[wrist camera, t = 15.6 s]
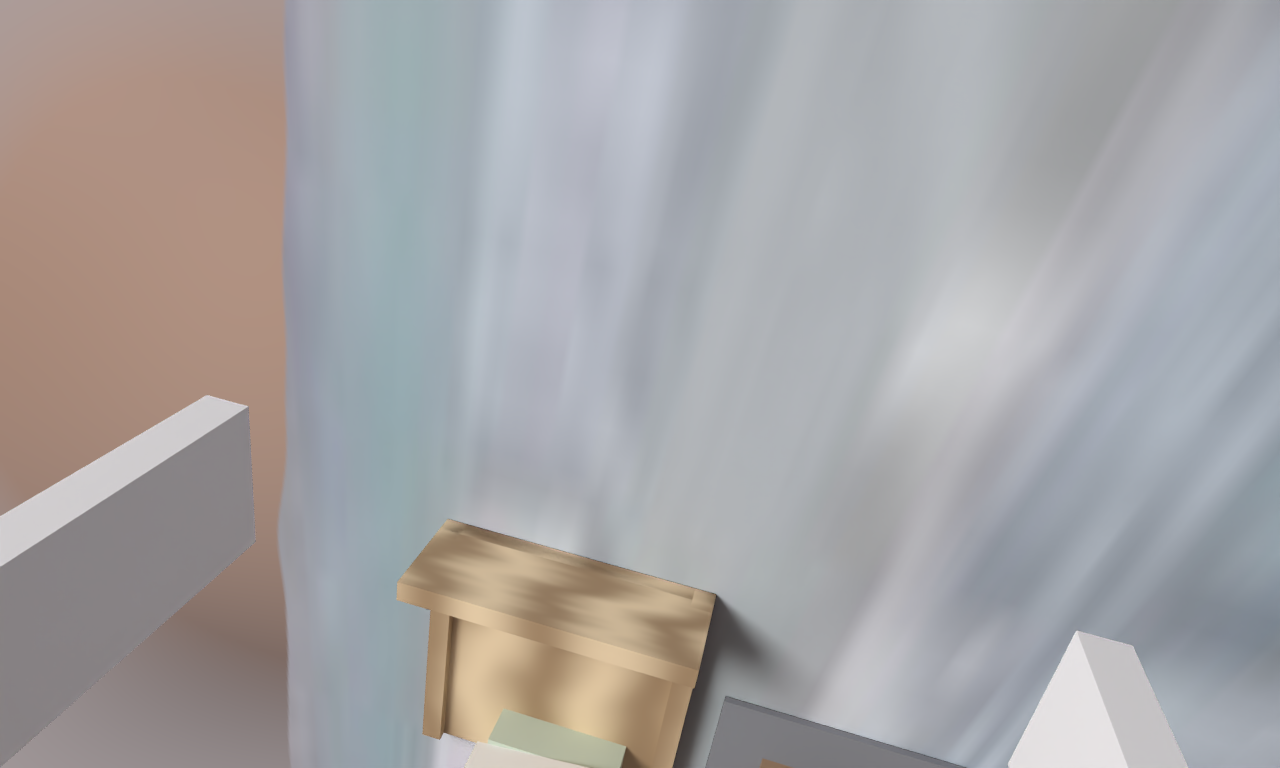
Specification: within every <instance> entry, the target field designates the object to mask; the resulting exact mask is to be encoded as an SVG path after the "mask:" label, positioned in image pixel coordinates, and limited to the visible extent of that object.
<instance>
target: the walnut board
mask: <svg viewBox="0 0 1280 768" xmlns="http://www.w3.org/2000/svg"><path fill="white" fill-rule="evenodd" d="M759 768H793V767H789V766H786V765H783V764H779V763H776V762H773V761H770V760H766V759H763V758H762V761H761V764H760V767H759Z"/></svg>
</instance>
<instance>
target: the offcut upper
mask: <svg viewBox="0 0 1280 768" xmlns="http://www.w3.org/2000/svg"><path fill="white" fill-rule="evenodd" d="M464 768H588V767H584V766H580V765H575V764H571V763H567V762H563V761H559V760H554V759H550V758H546V757H542V756H538V755H533V754H529V753H525V752H521V751H517V750H512V749H508V748H504V747H500V746H495V745H491V744H487V743H483V742H479V741H477V743H476V745H475V747H474V749H473V751H472V753H471V754H470V756H469V758H468V760H467V762H466V764H465V766H464Z"/></svg>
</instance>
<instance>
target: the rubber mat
mask: <svg viewBox="0 0 1280 768" xmlns="http://www.w3.org/2000/svg"><path fill="white" fill-rule="evenodd" d="M762 758H763V759H766V760H770V761H773V762H776V763H779V764H783V765H786V766H789V767H793V768H965V767H962V766H958V765H955V764H951V763H948V762H945V761H941V760H938V759H935V758H931V757H928V756H925V755H921V754H918V753H914V752H911V751H908V750H904V749H901V748H898V747H894V746H891V745H888V744H884V743H881V742H878V741H874V740H871V739H867V738H864V737H861V736H857V735H854V734H851V733H847V732H844V731H841V730H837V729H834V728H831V727H827V726H824V725H820V724H817V723H814V722H810V721H807V720H804V719H800V718H797V717H794V716H790V715H787V714H783V713H780V712H777V711H773V710H770V709H767V708H763V707H760V706H757V705H753V704H750V703H747V702H743V701H740V700H736V699H733V698H730V697H725V700H724V704H723V707H722V711H721V714H720V718H719V722H718V725H717V729H716V732H715V736H714V739H713V743H712V746H711V750H710V753H709V757H708V760H707V764H706V767H705V768H759V767H760V764H761V761H762Z"/></svg>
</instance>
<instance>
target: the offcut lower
mask: <svg viewBox="0 0 1280 768" xmlns="http://www.w3.org/2000/svg"><path fill="white" fill-rule="evenodd" d="M488 744H491V745H495V746H500V747H504V748H508V749H512V750H517V751H521V752H525V753H529V754H533V755H538V756H542V757H546V758H550V759H554V760H559V761H563V762H567V763H571V764H575V765H580V766H584V767H588V768H622V764H623V759H624V755H625V750H626V746H623V745H620V744H617V743H613V742H610V741H607V740H604V739H601V738H597V737H594V736H591V735H588V734H585V733H581V732H578V731H575V730H572V729H568V728H565V727H562V726H559V725H556V724H552V723H549V722H546V721H543V720H540V719H536V718H533V717H530V716H527V715H524V714H520V713H517V712H514V711H511V710H507V709H503V711H502V713H501V715H500V717H499V719H498V721H497V723H496V725H495V727H494V729H493V731H492V733H491V735H490V737H489V739H488Z"/></svg>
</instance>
